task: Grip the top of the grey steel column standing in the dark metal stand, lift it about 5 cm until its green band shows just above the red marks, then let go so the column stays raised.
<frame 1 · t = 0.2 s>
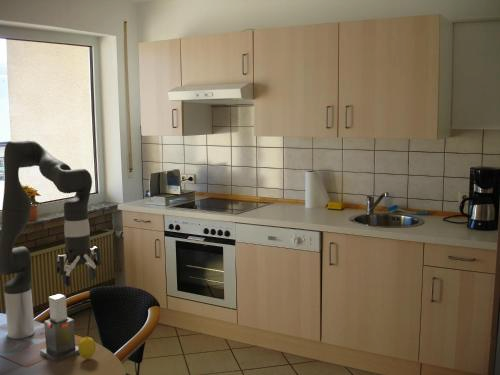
hand: (80, 283, 172), 29 cm above the table, tool pointing down, fingers open, 8 cm apart
column: (59, 322, 186), point 11 cm above the table, slide at 0.0 cm
lemon: (87, 359, 183), on the table
stand base: (61, 353, 187), on the table
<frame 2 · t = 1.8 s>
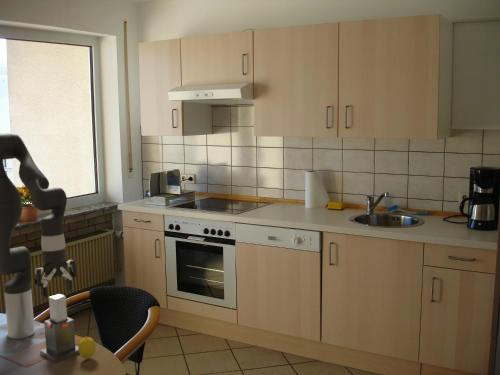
hand: (57, 293, 184), 21 cm above the table, tool pointing down, fingers open, 8 cm apart
nothing on the table moved.
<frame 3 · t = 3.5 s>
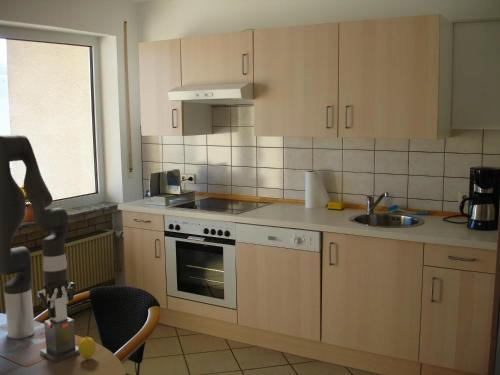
hand: (58, 315, 185), 14 cm above the table, tool pointing down, fingers closed on column, 4 cm apart
column: (59, 322, 186), point 11 cm above the table, slide at 0.0 cm, touching gripper
everything else where it was.
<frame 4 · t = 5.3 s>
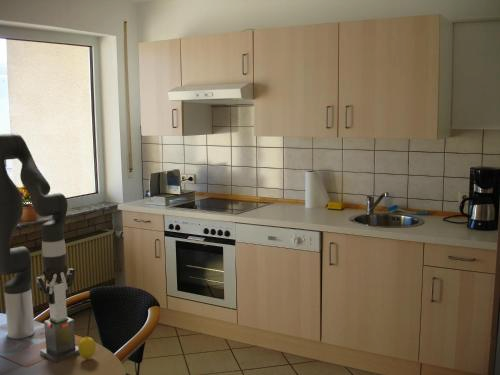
hand: (57, 301, 185), 19 cm above the table, tool pointing down, fingers closed on column, 4 cm apart
column: (58, 309, 185), point 16 cm above the table, slide at 4.9 cm, touching gripper
everything else where it was.
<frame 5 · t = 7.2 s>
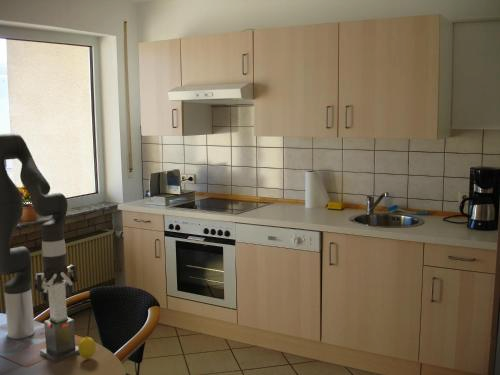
hand: (57, 299, 184), 20 cm above the table, tool pointing down, fingers open, 8 cm apart
column: (58, 309, 185), point 16 cm above the table, slide at 5.0 cm
everything else where it was.
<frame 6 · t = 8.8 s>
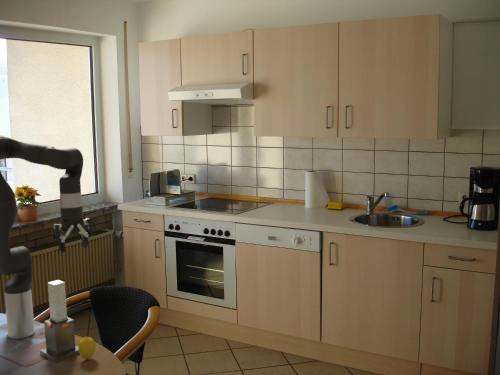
hand: (74, 249, 194), 34 cm above the table, tool pointing down, fingers open, 8 cm apart
nothing on the table moved.
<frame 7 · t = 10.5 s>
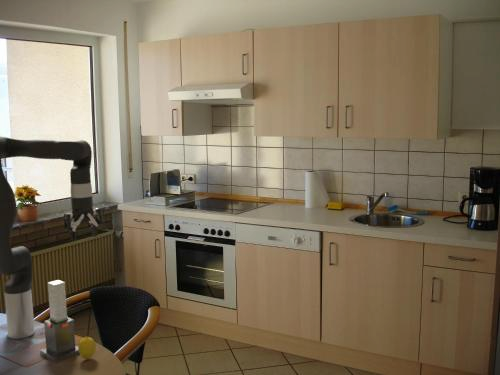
hand: (84, 238, 201), 36 cm above the table, tool pointing down, fingers open, 8 cm apart
nothing on the table moved.
at the end: column slide at 5.0 cm; the gripper is holding nothing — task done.
